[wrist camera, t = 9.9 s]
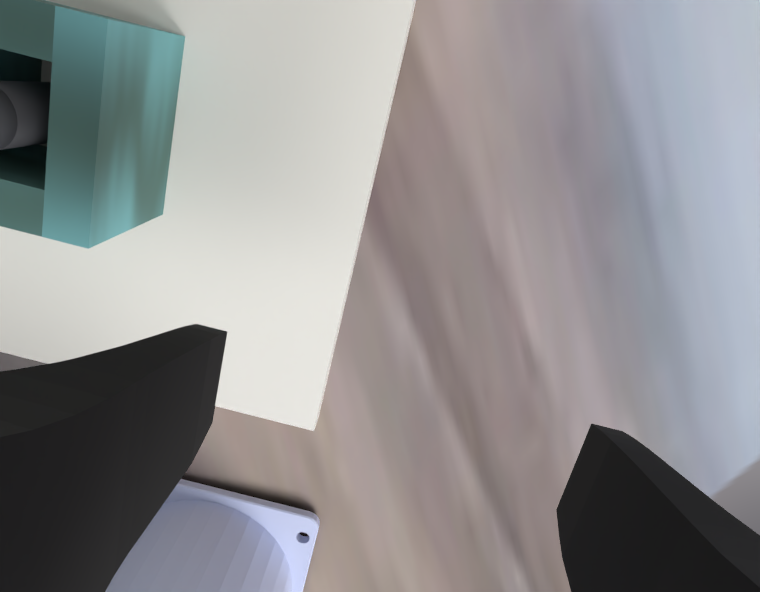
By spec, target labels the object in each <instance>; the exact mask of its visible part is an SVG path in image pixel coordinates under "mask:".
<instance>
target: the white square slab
mask: <svg viewBox="0 0 760 592" xmlns="http://www.w3.org/2000/svg"><path fill="white" fill-rule="evenodd" d="M46 1H50V2H54V3H58V4H62V5H66V6H69V7H73V8H77V9H81V10H85V11H89V12H93V13H97V14H100V15H104V16H108V17H112V18H116V19H120V20H124V21H128V22H131V23H135V24H139V25H143V26H147V27H151V28H155V29H159V30H163V31H166V32H170V33H174V34H178V35H182V36H185V42H184V50H183V58H182V66H181V74H180V82H179V90H178V98H177V106H176V114H175V122H174V130H173V138H172V146H171V154H170V162H169V170H168V178H167V186H166V194H165V202H164V210H163V215H161V216H158V217H156V218H154V219H152V220H150V221H148V222H145V223H143V224H141V225H139V226H137V227H135V228H132V229H130V230H128V231H126V232H124V233H122V234H119V235H117V236H115V237H113V238H111V239H109V240H106V241H104V242H102V243H100V244H98V245H96V246H93V247H91V248H89V249H87V248H83V247H80V246H76V245H72V244H68V243H64V242H60V241H56V240H52V239H48V238H44V237H41V236H37V235H33V234H29V233H25V232H21V231H17V230H13V229H9V228H6V227H2V226H0V352H3V353H7V354H11V355H15V356H19V357H23V358H27V359H31V360H35V361H39V362H43V363H47V364H51V363H56V362H61V361H65V360H70V359H74V358H78V357H82V356H85V355H89V354H93V353H97V352H101V351H104V350H108V349H112V348H116V347H119V346H123V345H126V344H129V343H132V342H136V341H139V340H142V339H145V338H148V337H151V336H155V335H158V334H161V333H164V332H167V331H170V330H174V329H177V328H180V327H184V326H188V325H193V324H199V325H203V326H207V327H211V328H215V329H219V330H223V331H227V337H226V343H225V349H224V355H223V361H222V367H221V373H220V379H219V385H218V391H217V397H216V403H215V406H217V407H221V408H225V409H229V410H233V411H237V412H241V413H245V414H249V415H253V416H257V417H260V418H264V419H268V420H272V421H276V422H280V423H284V424H288V425H292V426H296V427H300V428H304V429H308V430H312V431H314V429H315V426H316V423H317V421H318V418H319V414H320V409H321V405H322V401H323V397H324V392H325V388H326V384H327V380H328V375H329V371H330V367H331V362H332V358H333V354H334V350H335V345H336V341H337V337H338V333H339V328H340V324H341V320H342V316H343V311H344V307H345V303H346V298H347V294H348V290H349V286H350V281H351V277H352V273H353V269H354V264H355V260H356V256H357V251H358V247H359V243H360V239H361V234H362V230H363V226H364V222H365V217H366V213H367V209H368V204H369V200H370V196H371V192H372V187H373V183H374V179H375V175H376V170H377V166H378V162H379V158H380V153H381V149H382V145H383V140H384V136H385V132H386V128H387V123H388V119H389V115H390V111H391V106H392V102H393V98H394V93H395V89H396V85H397V81H398V76H399V72H400V68H401V64H402V59H403V55H404V51H405V46H406V42H407V38H408V34H409V29H410V25H411V21H412V17H413V12H414V8H415V4H416V0H46ZM51 72H52V62H50V61H46V60H42V70H41V82H35V81H0V150H3V149H10V148H17V147H25V146H32V145H42V146H46V147H47V140H48V123H49V106H50V89H51Z"/></svg>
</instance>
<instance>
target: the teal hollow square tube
mask: <svg viewBox="0 0 760 592" xmlns="http://www.w3.org/2000/svg"><path fill="white" fill-rule="evenodd" d="M184 42H185V36H182V35H178V34H174V33H170V32H166V31H163V30H159V29H155V28H151V27H147V26H143V25H139V24H135V23H131V22H128V21H124V20H120V19H116V18H112V17H108V16H104V15H100V14H97V13H93V12H89V11H85V10H81V9H77V8H73V7H69V6H66V5H62V4H58V3H54V2H50V1H46V0H0V81H35V82H41V70H42V60H46V61H50V62H52V72H51V89H50V106H49V123H48V140H47V147H46V146H42V145H32V146H25V147H17V148H10V149H3V150H0V226H2V227H6V228H9V229H13V230H17V231H21V232H25V233H29V234H33V235H37V236H41V237H44V238H48V239H52V240H56V241H60V242H64V243H68V244H72V245H76V246H80V247H83V248H87V249H89V248H91V247H93V246H96V245H98V244H100V243H102V242H104V241H106V240H109V239H111V238H113V237H115V236H117V235H119V234H122V233H124V232H126V231H128V230H130V229H132V228H135V227H137V226H139V225H141V224H143V223H145V222H148V221H150V220H152V219H154V218H156V217H158V216H161V215H163V210H164V202H165V194H166V186H167V178H168V170H169V162H170V154H171V146H172V138H173V130H174V122H175V114H176V106H177V98H178V90H179V82H180V74H181V66H182V58H183V50H184Z"/></svg>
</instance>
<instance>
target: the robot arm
mask: <svg viewBox="0 0 760 592" xmlns="http://www.w3.org/2000/svg"><path fill="white" fill-rule="evenodd" d="M226 337H227V331H223V330H219V329H215V328H211V327H207V326H203V325H199V324H193V325H188V326H184V327H180V328H177V329H174V330H170V331H167V332H164V333H161V334H158V335H155V336H151V337H148V338H145V339H142V340H139V341H136V342H132V343H129V344H126V345H123V346H119V347H116V348H112V349H108V350H104V351H101V352H97V353H93V354H89V355H85V356H82V357H78V358H74V359H70V360H65V361H61V362H56V363H51V364H46V365H40V366H34V367H28V368H22V369H17V370H10V371H2V372H0V592H303V588H304V584H305V580H306V576H307V572H308V568H309V565H310V561H311V557H312V553H313V549H314V545H315V541H316V537H317V533H318V529H319V525H320V520H319V518H318V516H317V515H316V514H314V513H313V512H310V511H307V510H303V509H299V508H295V507H291V506H287V505H283V504H279V503H275V502H271V501H267V500H263V499H259V498H255V497H251V496H247V495H243V494H239V493H235V492H231V491H227V490H224V489H220V488H216V487H212V486H208V485H204V484H200V483H196V482H192V481H188V480H184V479H181V478H182V477H183V475H184V474H185V472H186V471H187V469H188V468H189V466H190V465H191V463H192V461H193V460H194V458H195V456H196V454H197V452H198V450H199V448H200V446H201V444H202V442H203V440H204V438H205V436H206V434H207V432H208V430H209V428H210V426H211V424H212V421H213V415H214V409H215V403H216V397H217V391H218V385H219V379H220V373H221V367H222V361H223V355H224V349H225V343H226ZM557 519H558V528H559V537H560V544H561V551H562V558H563V562H564V566H565V570H566V573H567V577H568V581H569V584H570V588H571V592H760V535H758V534H757V533H756V532H754V531H753V530H751V529H750V528H749V527H747V526H746V525H745V524H743V523H742V522H741V521H739V520H738V519H736V518H735V517H734V516H733V515H731V514H730V513H728V512H727V511H726V510H724V509H723V508H722V507H721V506H719V505H718V504H717V503H716V502H714V501H713V500H712V499H710V498H709V497H708V496H707V495H705V494H704V493H703V492H702V491H700V490H699V489H698V488H697V487H695V486H694V485H693V484H692V483H690V482H689V481H688V480H687V479H685V478H684V477H683V476H682V475H680V474H679V473H678V472H677V471H676V470H674V469H673V468H672V467H671V466H669V465H668V464H667V463H666V462H664V461H663V460H662V459H661V458H659V457H658V456H657V455H656V454H654V453H653V452H652V451H650V450H649V449H648V448H647V447H645V446H644V445H643V444H641V443H640V442H638V441H637V440H636V439H634V438H633V437H631V436H629V435H628V434H626V433H624V432H623V431H619V430H615V429H611V428H607V427H603V426H599V425H595V424H591V426H590V429H589V431H588V434H587V436H586V439H585V441H584V444H583V446H582V448H581V451H580V453H579V456H578V458H577V461H576V463H575V466H574V468H573V471H572V473H571V475H570V478H569V480H568V483H567V485H566V488H565V490H564V493H563V495H562V498H561V500H560V502H559V505H558V507H557ZM300 532H305V533H307V534H308V535H309V536H302V535H300Z"/></svg>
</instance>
